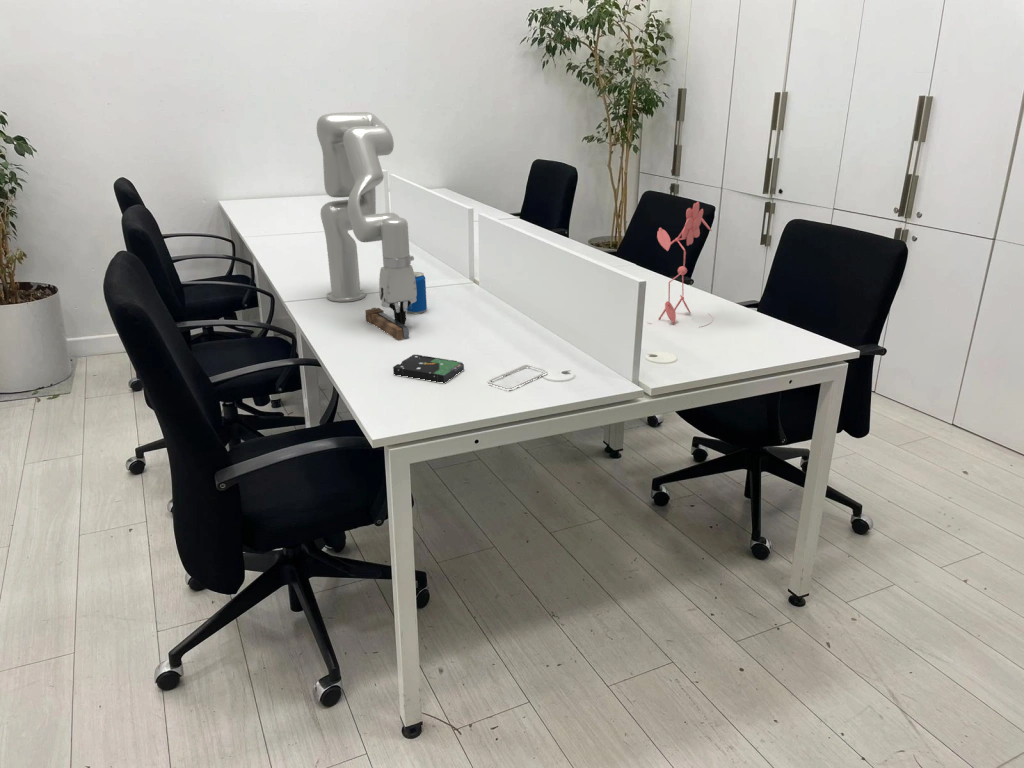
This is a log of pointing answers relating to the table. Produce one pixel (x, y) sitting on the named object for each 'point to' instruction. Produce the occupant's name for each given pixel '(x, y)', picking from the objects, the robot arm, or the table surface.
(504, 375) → the phone case
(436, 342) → the table surface
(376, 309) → the brown bar with block
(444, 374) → the disk drive
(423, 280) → the beverage can
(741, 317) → the table surface
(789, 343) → the table surface
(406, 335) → the long gray metal bar
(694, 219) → the figurine
